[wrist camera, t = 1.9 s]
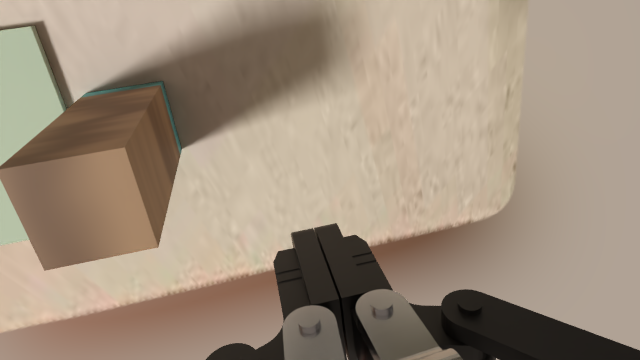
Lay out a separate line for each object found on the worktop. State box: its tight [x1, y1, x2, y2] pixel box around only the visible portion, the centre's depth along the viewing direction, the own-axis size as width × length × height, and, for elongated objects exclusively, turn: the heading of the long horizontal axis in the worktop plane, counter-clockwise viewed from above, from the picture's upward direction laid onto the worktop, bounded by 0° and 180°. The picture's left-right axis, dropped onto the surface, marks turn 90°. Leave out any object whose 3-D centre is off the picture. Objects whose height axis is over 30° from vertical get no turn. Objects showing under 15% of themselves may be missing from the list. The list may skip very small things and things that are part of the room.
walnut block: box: [0, 81, 182, 270], centre depth 25 cm, size 5×5×13 cm
